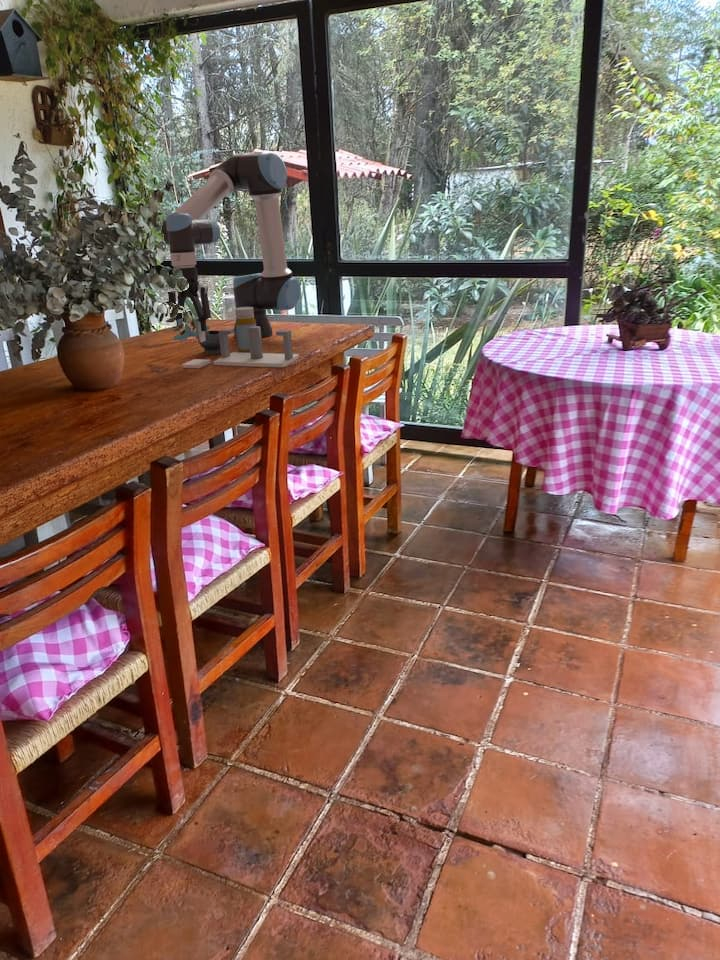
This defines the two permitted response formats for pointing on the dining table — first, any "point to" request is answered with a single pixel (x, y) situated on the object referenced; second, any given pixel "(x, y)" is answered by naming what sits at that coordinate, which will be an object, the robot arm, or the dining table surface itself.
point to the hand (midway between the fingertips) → (193, 340)
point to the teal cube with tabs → (188, 330)
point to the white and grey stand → (255, 350)
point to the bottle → (244, 327)
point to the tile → (196, 363)
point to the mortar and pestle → (211, 342)
